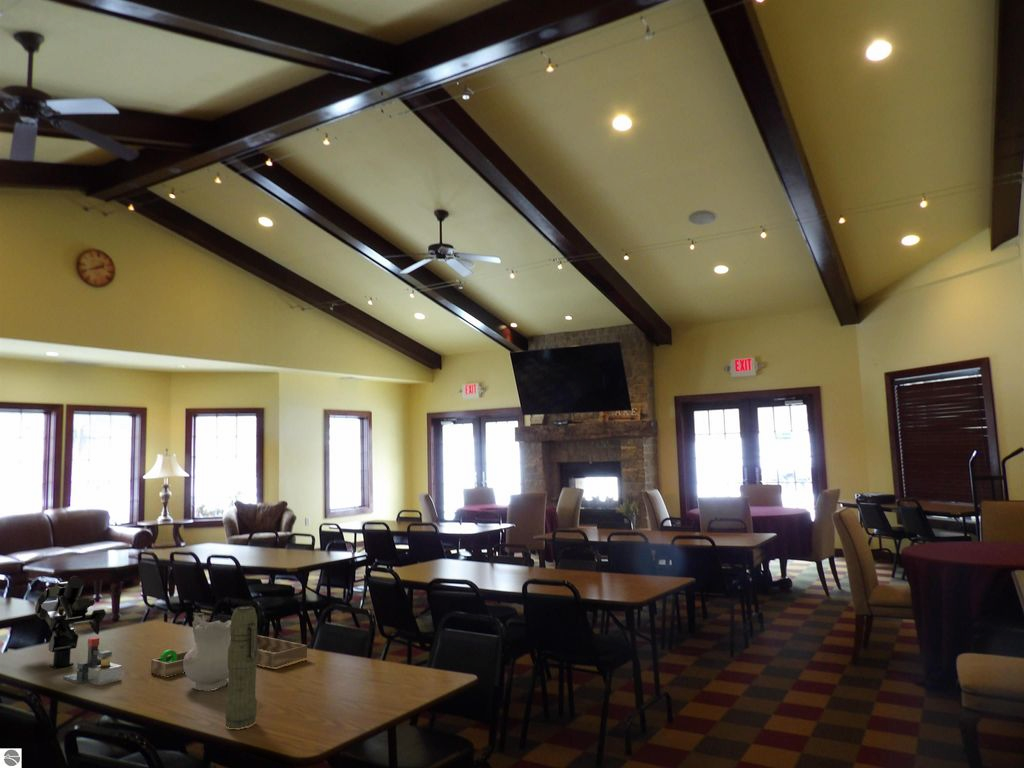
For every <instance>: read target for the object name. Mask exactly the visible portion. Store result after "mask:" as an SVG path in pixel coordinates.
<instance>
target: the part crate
mask: <svg viewBox="0 0 1024 768" xmlns="http://www.w3.org/2000/svg"><path fill="white" fill-rule="evenodd" d="M189 651H190V650H187V651H182V652H179V653H177V661H175V662H171V663H166V662H162V661H160V657H157V658H154V659H151V664H150V665H151V667H150V668H151V669H150V674H152V673H154V674H153V675H155V674H158V675H157V676H159V675H162V676H166V677H167V676H171V675H175V674H179V673H183V672H184V667H183V660H184V657H185V655H186V654H187V653H188V652H189ZM171 657H172V656H171V655H168V656H167V657H166V661H169V660H170V659H171ZM183 674H184V673H183ZM179 675H180V674H179ZM162 676H161V677H162ZM175 676H176V675H175ZM171 677H172V676H171Z"/></svg>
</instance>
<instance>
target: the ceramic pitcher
mask: <svg viewBox="0 0 1024 768" xmlns="http://www.w3.org/2000/svg"><path fill="white" fill-rule="evenodd" d="M194 616H195V617H194V619H193V622H192V624H193V625H192V633H193V639H194V642H195V645H194V646H193V648H191V649H190V650H188V651H189V652H188V653H187V654H186V655H185V657H184V660H183V667H184V672H185V673H184V674H185V676H186V677H187V678H188V679H189V681H191V682H192V683H195V684H194V685H193V687H194V690H197V691H201V690H211V689H215V688H219V687H221V688H223V687H225V686H227V685H228V684H227V683H228V682H229V669H228V666H227V664H228V648H229V645H230V638H231V619H230V620H227V621H225V622H223V621H221V620H215V621H212V622H210V621H209V622H207V621H206V620H205V616H204V612H203V613H202V612H201V613H200V612H196V613H195V614H194ZM226 684H227V685H226ZM222 686H223V687H222Z"/></svg>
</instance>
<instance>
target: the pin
mask: <svg viewBox="0 0 1024 768" xmlns="http://www.w3.org/2000/svg"><path fill="white" fill-rule="evenodd" d="M110 663H111V657H108V658H103V659H102V658H101V668H108V667H110Z"/></svg>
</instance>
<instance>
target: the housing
mask: <svg viewBox="0 0 1024 768" xmlns="http://www.w3.org/2000/svg"><path fill="white" fill-rule="evenodd" d="M122 668H123V666H122V665H121V664H118V663H114V662H110V667H108V668H101V665H98V666H94V667H89V669H88V682H87V683H89V682H90V683H89V684H93V685H96V686H98V685H99V686H103V685H107V684H111V683H115V682H118V680H119V681H122V673H123V672H122V670H123V669H122ZM114 681H115V682H114ZM110 682H111V683H110Z"/></svg>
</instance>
